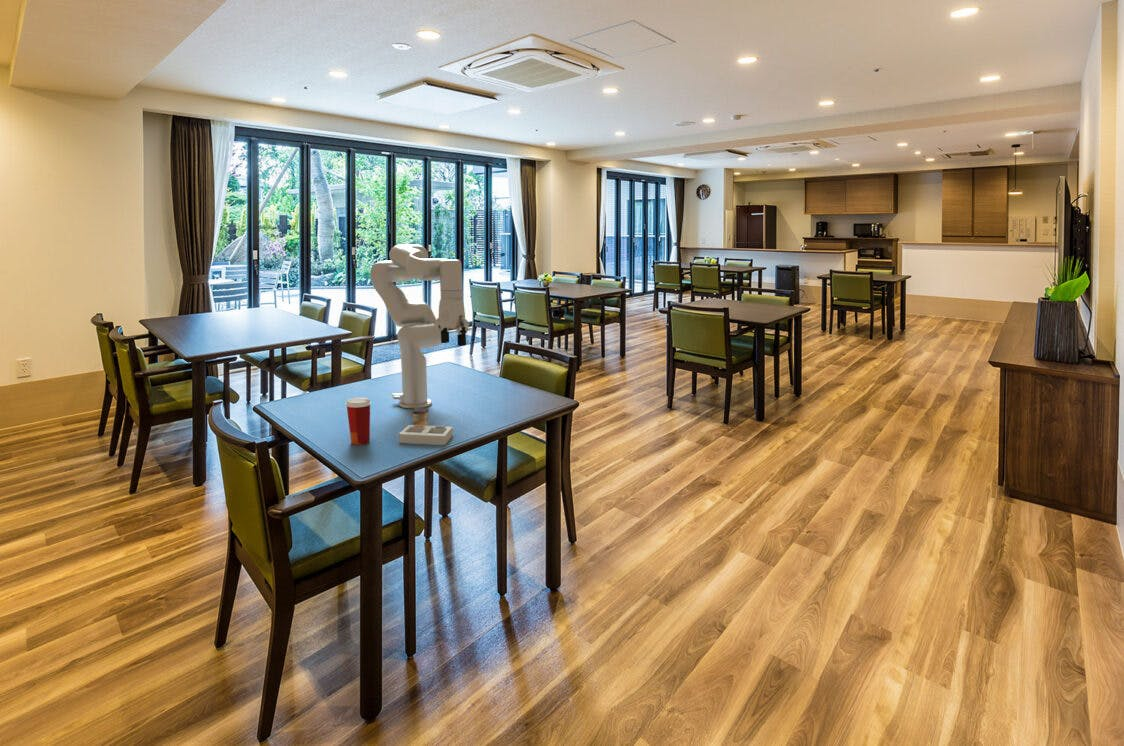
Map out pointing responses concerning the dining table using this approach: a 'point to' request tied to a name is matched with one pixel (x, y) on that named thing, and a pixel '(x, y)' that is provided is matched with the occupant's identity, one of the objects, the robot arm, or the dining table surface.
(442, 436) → the socket block
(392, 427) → the dining table surface
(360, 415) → the paper cup
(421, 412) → the plug
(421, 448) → the dining table surface
